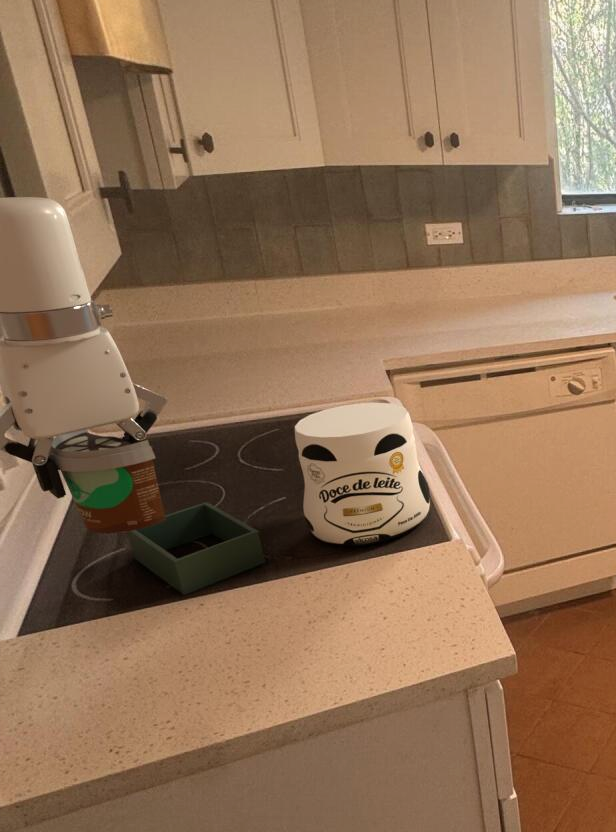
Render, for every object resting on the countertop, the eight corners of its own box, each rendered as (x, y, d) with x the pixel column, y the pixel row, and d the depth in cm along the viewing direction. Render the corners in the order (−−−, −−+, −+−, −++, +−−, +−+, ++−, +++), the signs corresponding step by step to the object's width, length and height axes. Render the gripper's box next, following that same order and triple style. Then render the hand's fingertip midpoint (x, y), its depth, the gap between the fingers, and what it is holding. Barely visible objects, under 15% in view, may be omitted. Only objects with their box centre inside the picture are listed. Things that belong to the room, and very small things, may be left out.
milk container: (355, 568, 109) (330, 449, 103) (286, 537, 118) (260, 425, 112) (457, 519, 123) (441, 412, 117) (389, 495, 132) (371, 393, 126)
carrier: (136, 562, 111) (125, 528, 109) (215, 534, 119) (206, 501, 117) (185, 598, 102) (174, 561, 100) (266, 565, 110) (258, 530, 108)
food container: (46, 525, 87) (17, 442, 84) (107, 502, 92) (82, 423, 89) (114, 548, 83) (86, 461, 79) (174, 523, 88) (150, 440, 84)
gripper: (137, 305, 88) (176, 451, 95) (-77, 334, 75) (-15, 501, 81) (163, 313, 84) (202, 466, 90) (-58, 346, 71) (6, 521, 77)
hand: (99, 481), depth 86 cm, fingers closed on food container, 6 cm apart
